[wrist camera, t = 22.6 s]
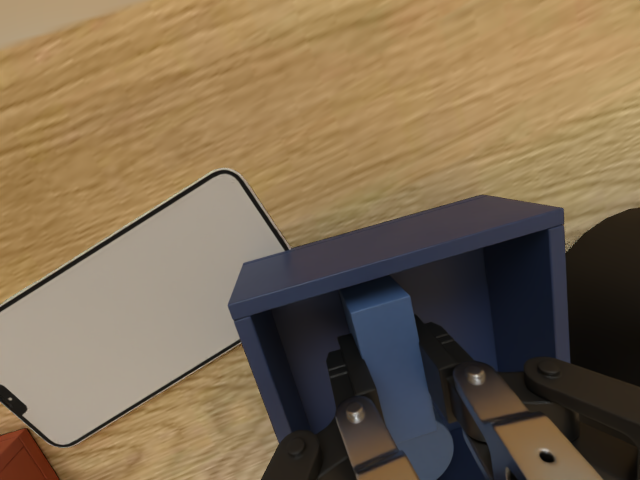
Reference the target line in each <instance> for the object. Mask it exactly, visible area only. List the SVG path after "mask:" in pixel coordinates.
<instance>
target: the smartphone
mask: <svg viewBox="0 0 640 480" xmlns="http://www.w3.org/2000/svg"><path fill="white" fill-rule="evenodd" d="M219 170H220V171H219ZM290 249H291V247H290V246H289V244H288V243H287V241H286V240H285V238H284V237H283V235H282V234H281V232H280V231H279V229H278V228H277V226H276V225H275V223H274V221H273V220H272V218H271V217H270V215H269V214H268V212H267V211H266V210H265V208H264V206H263V205H262V203H261V202H260V201H259V199H258V198H257V196H256V194H255V193H254V191H253V190H252V189H251V187H250V185H249V184H248V182H247V181H246V180H245V178H244V177H243V176H242V175H241V174H240V173H238V172H237V171H235V170H233V169H230V168H219V169H215V170H213V171H211V172H209V173H208V174H206V175H205V176H203V177H201V178H200V179H198V180H197V181H195V182H194V183H192V184H190V185H189V186H187V187H186V188H184V189H182V190H181V191H179V192H178V193H176V194H174V195H173V196H171V197H170V198H168V199H167V200H165V201H163V202H162V203H160V204H159V205H157V206H155V207H154V208H152V209H151V210H149V211H148V212H146V213H144V214H143V215H141V216H140V217H138V218H136V219H135V220H133V221H132V222H130V223H129V224H127V225H125V226H124V227H122V228H121V229H119V230H117V231H116V232H114V233H113V234H111V235H110V236H108V237H106V238H105V239H103V240H102V241H100V242H98V243H97V244H95V245H94V246H92V247H91V248H89V249H87V250H86V251H84V252H83V253H81V254H79V255H78V256H76V257H75V258H73V259H72V260H70V261H68V262H67V263H65V264H64V265H62V266H60V267H59V268H57V269H56V270H54V271H53V272H51V273H49V274H48V275H46V276H45V277H43V278H41V279H40V280H38V281H36V282H34V283H32V284H31V285H29V286H28V287H26V288H24V289H23V290H21V291H20V292H18V293H16V294H15V295H13V296H12V297H10V298H9V299H7V300H5V302H3V303H2V304H0V402H1V403H2V404H3V405H4V406H5V407H6V408H8V409H9V410H10V411H11V412H12V413H13V414H14V415H16V416H17V417H18V418H19V419H20V420H21V421H23V422H24V423H25V424H26V425H27V426H28V427H29V428H31V429H32V430H33V431H34V432H35V433H36V434H37V435H39V436H40V437H41V438H42V439H43V440H44V441H46V442H47V443H49V444H50V445H52V446H55V447H59V448H68V447H72V446H75V445H77V444H79V443H80V442H82V441H84V440H85V439H87V438H89V437H90V436H92V435H94V434H95V433H97V432H98V431H100V430H102V429H103V428H105V427H106V426H108V425H110V424H111V423H113V422H115V421H116V420H118V419H119V418H121V417H123V416H124V415H126V414H128V413H129V412H131V411H132V410H134V409H136V408H137V407H139V406H141V405H142V404H144V403H145V402H147V401H149V400H150V399H152V398H154V397H155V396H157V395H158V394H160V393H162V392H163V391H165V390H167V389H168V388H170V387H171V386H173V385H175V384H176V383H178V382H179V381H181V380H183V379H184V378H186V377H188V376H189V375H191V374H192V373H194V372H196V371H197V370H199V369H201V368H202V367H204V366H205V365H207V364H209V363H210V362H212V361H214V360H215V359H217V358H218V357H220V356H222V355H223V354H225V353H227V352H228V351H230V350H231V349H233V348H235V347H236V346H238V345H239V344H241V340H240V338H239V335H238V332H237V330H236V327H235V324H234V320H233V319H232V317H231V314H230V311H229V309H228V302H229V300H230V297H231V294H232V292H233V289H234V286H235V284H236V281H237V278H238V276H239V273H240V270H241V268H242V265H243V263H245V262H248V261H252V260H255V259H259V258H262V257H266V256H269V255H273V254H276V253H280V252H283V251H287V250H290ZM2 305H3V306H2Z"/></svg>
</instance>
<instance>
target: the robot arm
mask: <svg viewBox="0 0 640 480" xmlns="http://www.w3.org/2000/svg"><path fill="white" fill-rule="evenodd" d="M414 317H415V322H416V327H417V332H418V337H419V348H420V352H421V357H422V362H423V367H424V372H425V377H426V382H427V387H428V392H429V394H430V395H431V397H432V398H433V400H434V401H435V403H436V405H437V406H438V408H439V409H440V411H441V412H442V414H443V416H444V417H445V419H446V420H447V422H448V423H449V424H450V423H453V422H456V421H458V422H459V424H460V425H461V427H462V431H463V437H464V440H465V442H466V444H467V446H468V448H469V449H470V451H471V453H472V455H473V457H474V459H475V461H476V463H477V465H478V467H479V468H480V470H481V472H482V474H483V476H484V478H485V480H640V387H639V386H636V385H633V384H630V383H627V382H624V381H621V380H618V379H615V378H612V377H609V376H606V375H603V374H600V373H597V372H594V371H591V370H588V369H586V368H583V367H580V366H577V365H574V364H571V363H568V362H565V361H562V360H559V359H556V358H551V357H534V358H531V359H529V360H527V361H526V362H525V364H524V366H523V367H524V371H521V372H497V371H496V370H495V369H494V368H493V367H491V366H490V365H488V364H486V363H484V362H480V361H475V360H474V359H473V358H472V357H471V356H470V355H469V354H468V353H467V352H466V351H465V350H464V349H463V348H462V347H461V346H460V345H459V344H458V343H457V342H456V341H454V339H453V338H452V337H451V336H450V335H449V334H448V332H447V331H446V330H445V329H444V328H443V327H442V326H440V325H437V324H435V323H433V322H429V323H425V324H424V323H423V322H422V320H421V319H420V318H419V317H418V316H417V315H416V314H414ZM337 338H338V342H339V346H340V349H338V350H335V351H332V352H329V354H328V357H327V360H326V364H327V368H328V373H329V377H330V382H331V386H332V391H333V395H334V400H335V404H336V412H335V416H334V418H333V420H332V421H331V423H330V424H329V425H328V426H327V427H326V428H324V429H323V430H322V431H320V432H318V433H317V434H314V433H313V432H311V431H309V430H297V431H294V432H292V433H290V434H288V435H287V436H286V437H285V438H284V439H283V440H282V441H281V442H280V444H279V445H278V447H277V449H276V451H275V453H274V455H273V457H272V459H271V461H270V463H269V465H268V467H267V469H266V471H265V473H264V475H263V477H262V479H261V480H420V479H419V477H418V475H417V473H416V472H415V470H414V468H413V466H412V464H411V463H410V461H409V459H408V457H407V455H406V454H405V452H404V451H403V450H400V451H399V449H398V448H397V446H396V444H395V442H394V440H393V438H392V436H391V434H390V433H389V431H388V429H387V427H386V425H385V421H384V417H383V413H382V409H381V405H380V401H379V397H378V393H377V389H376V386H375V384H374V382H373V379H372V377H371V374H370V372H369V370H368V367H367V365H366V362H365V360H364V359H362V358H361V355H360V353H359V350H358V348H357V345H356V343H355V340H354V338H353V335H352V333H350V334H347V335H343V336H340V337H337ZM579 414H581V415H583V416H585V417H587V418H590V419H592V420H594V421H596V422H599V423H601V424H603V425H606V426H608V427H610V428H612V429H615V430H617V431H619V432H621V433H623V434H625V435H626V436H628V437H629V438H630V439H631V440H632V441H633V442H634V443H635V444H636V446H637V447H636V446H633V445H631V444H629V443H627V442H625V441H622V440H620V439H618V438H616V437H614V436H611V435H609V434H607V433H605V432H603V431H600V430H598V429H596V428H594V427H592V426H589V425H587V424H585V423H583V422H581V421H579Z"/></svg>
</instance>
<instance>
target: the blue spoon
mask: <svg viewBox="0 0 640 480" xmlns="http://www.w3.org/2000/svg"><path fill="white" fill-rule="evenodd" d="M339 294H340V297H341V301H342V305H343V309H344V312H345V316H346V320H347V324H348V327H349V331H350V333H352V335H353V338H354V340H355V343H356V345H357V348H358V350H359V353H360V355H361V358H362V359H364V360H365V362H366V365H367V367H368V370H369V372H370V374H371V377H372V379H373V382H374V384H375V386H376V389H377V393H378V397H379V401H380V405H381V409H382V413H383V417H384V421H385V425H386V427H387V429H388V431H389V433H390V434H391V436H392V438H393V440H394V442H395V444H396V446H397V448H398V449H399V451H400V450H403V451H404V452H405V454H406V455H407V457H408V459H409V461H410V463H411V464H412V466H413V468H414V470H415V472H416V473H417V475H418V477H419V479H420V480H436V479H438V478H439V477H440V476H441V475H442V474H443V473H444V471H445V470H446V469H447V467H448V466H449V464H450V462H451V459H452V456H453V451H454V445H453V439H452V436H451V433H450V431H449V430H448V428H447V427H446V425H445V423H444V422H443V420H442V419H441V417H440V416H439V414H438V412H437V411H436V409H435V408H434V406H433V404H432V400H431V395H430V394H429V392H428V387H427V382H426V377H425V372H424V367H423V362H422V357H421V352H420V348H419V337H418V332H417V327H416V322H415V317H414V312H413V307H412V302H411V298H410V295H409V294H408V293H407V292H406V291H405V290H404V289H403V288H402V287H401V286H400V285H399V284H398V283H397V282H396V281H395V280H394V279H393V278H392V277H391V276H390V275H387V276H384V277H380V278H377V279H374V280H370V281H367V282H363V283H360V284H356V285H353V286H350V287H346V288H343V289H339Z"/></svg>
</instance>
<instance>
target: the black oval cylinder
mask: <svg viewBox="0 0 640 480" xmlns="http://www.w3.org/2000/svg"><path fill="white" fill-rule="evenodd" d="M565 256H566V277H567V299H568V321H569V343H570V363H571V364H574V365H577V366H580V367H583V368H586V369H588V370H591V371H594V372H597V373H600V374H603V375H606V376H609V377H612V378H615V379H618V380H621V381H624V382H627V383H630V384H633V385H636V386H639V387H640V208H635V209H629V210H626V211H624V212H621V213H619V214H617V215H614V216H612V217H609V218H607V219H605V220H604V221H602V222H601V223H599V224H598V225H596V226H595V227H594V228H592V229H591V230H589V231H588V232H586V233H585V234H584V235H583V236H582V237H581V238H580V239H579V240H578V241H577V242H576V243H575V244H574V246H573V247H572V248H571V249H570V250H569V251H568V252H567V253H566V254H565ZM579 421H581V422H583V423H585V424H587V425H589V426H592V427H594V428H596V429H598V430H600V431H603V432H605V433H607V434H609V435H611V436H614V437H616V438H618V439H620V440H622V441H625V442H627V443H629V444H631V445H633V446H636V444H635V443H634V442H633V441H632V440H631V439H630V438H629V437H628V436H626V435H625V434H623V433H621V432H619V431H617V430H615V429H612V428H610V427H608V426H606V425H603V424H601V423H599V422H596V421H594V420H592V419H590V418H587V417H585V416H583V415H581V414H579ZM636 447H637V446H636Z"/></svg>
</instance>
